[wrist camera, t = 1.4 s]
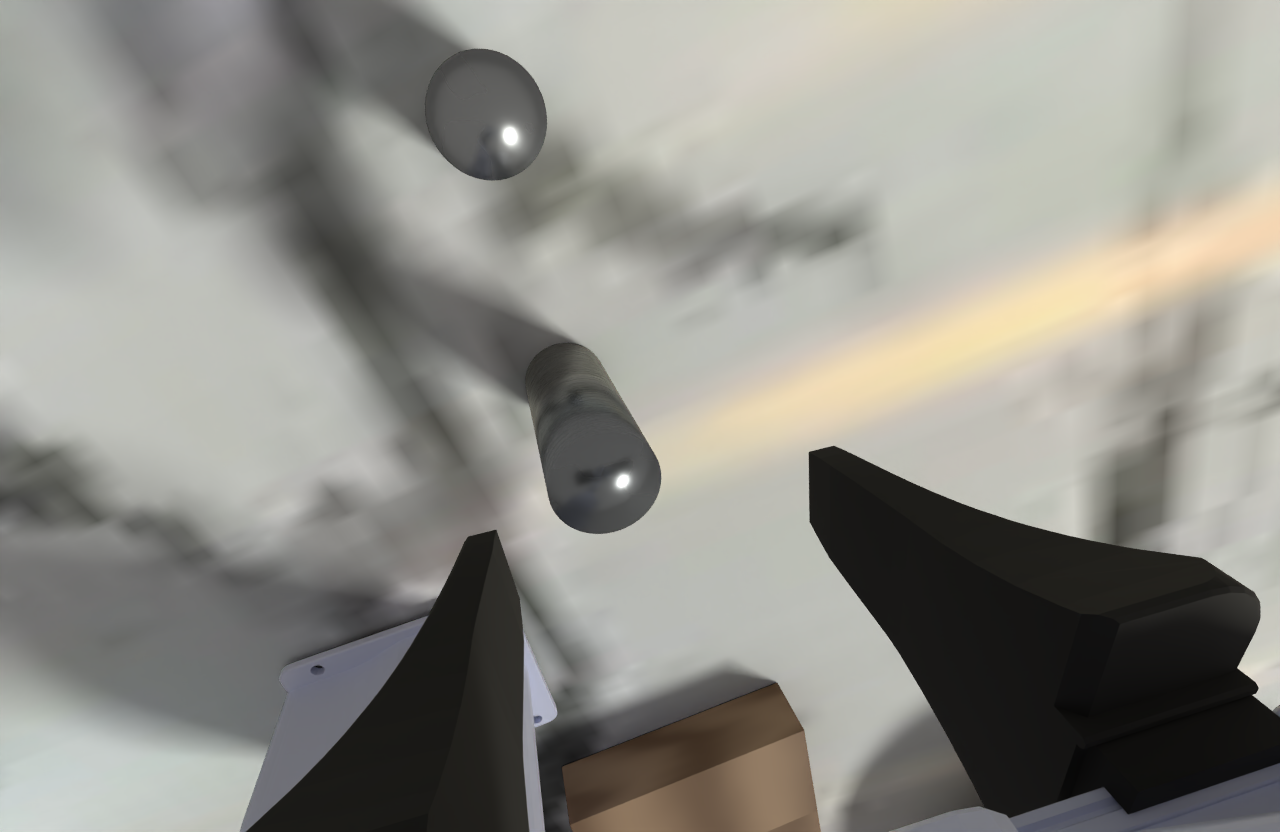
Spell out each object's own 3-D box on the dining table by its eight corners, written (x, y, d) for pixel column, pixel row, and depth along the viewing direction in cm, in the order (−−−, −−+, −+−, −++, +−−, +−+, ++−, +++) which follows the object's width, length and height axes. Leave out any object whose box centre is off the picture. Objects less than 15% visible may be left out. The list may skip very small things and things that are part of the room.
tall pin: (538, 427, 23) (566, 548, 16) (514, 356, 22) (532, 454, 15) (612, 404, 24) (671, 512, 17) (593, 333, 22) (647, 417, 15)
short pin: (455, 185, 19) (450, 193, 16) (419, 81, 18) (405, 64, 15) (545, 162, 20) (560, 164, 16) (517, 58, 18) (526, 36, 15)
